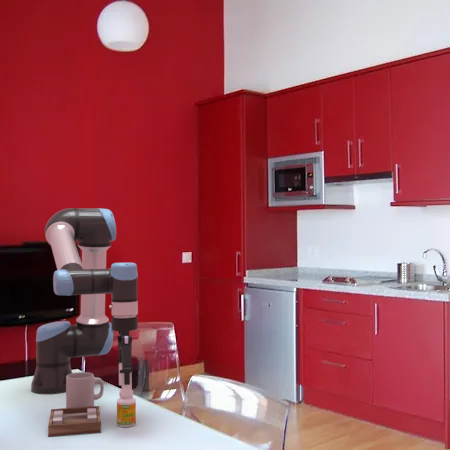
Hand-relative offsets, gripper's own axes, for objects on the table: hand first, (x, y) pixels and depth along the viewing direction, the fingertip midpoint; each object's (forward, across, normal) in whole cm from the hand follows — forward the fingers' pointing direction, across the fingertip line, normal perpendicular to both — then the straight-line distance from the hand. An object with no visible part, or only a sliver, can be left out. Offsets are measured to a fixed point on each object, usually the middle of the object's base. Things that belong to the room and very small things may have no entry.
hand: (125, 390), depth 174 cm
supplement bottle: (+10, -1, 0) cm, 10 cm away
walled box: (+10, -4, -14) cm, 18 cm away
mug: (+10, -20, -11) cm, 25 cm away
